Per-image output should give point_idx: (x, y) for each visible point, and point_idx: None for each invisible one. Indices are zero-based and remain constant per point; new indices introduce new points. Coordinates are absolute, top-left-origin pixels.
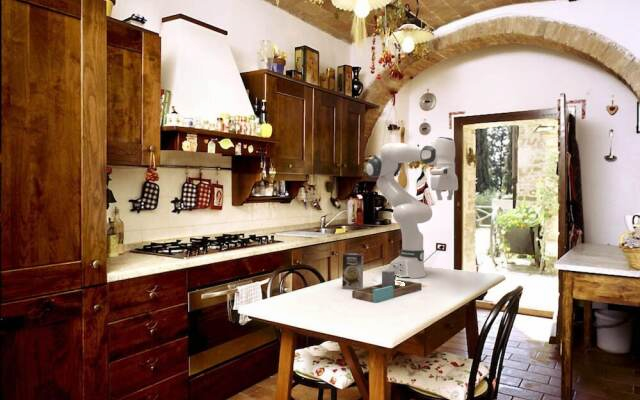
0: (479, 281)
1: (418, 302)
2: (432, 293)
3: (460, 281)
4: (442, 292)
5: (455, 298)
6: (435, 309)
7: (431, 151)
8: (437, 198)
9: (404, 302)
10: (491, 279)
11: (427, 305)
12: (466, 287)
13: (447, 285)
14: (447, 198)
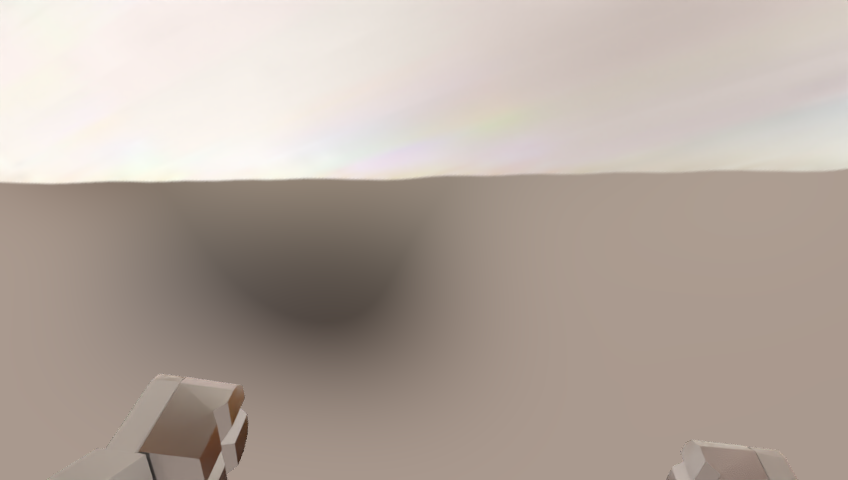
0: (747, 120)
1: (80, 57)
2: (281, 30)
3: (696, 29)
4: (339, 63)
5: (272, 156)
6: (58, 158)
7: None
8: (136, 402)
9: (22, 4)
10: (844, 156)
11: (76, 110)
12: (534, 117)
13: (528, 12)
14: (711, 471)
